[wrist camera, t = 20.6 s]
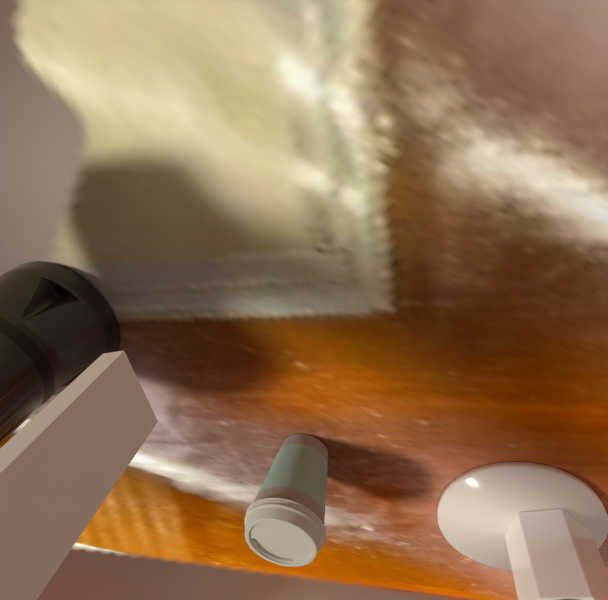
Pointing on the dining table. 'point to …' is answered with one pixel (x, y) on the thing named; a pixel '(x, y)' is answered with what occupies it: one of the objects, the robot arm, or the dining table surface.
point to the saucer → (511, 506)
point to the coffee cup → (291, 504)
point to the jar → (555, 558)
